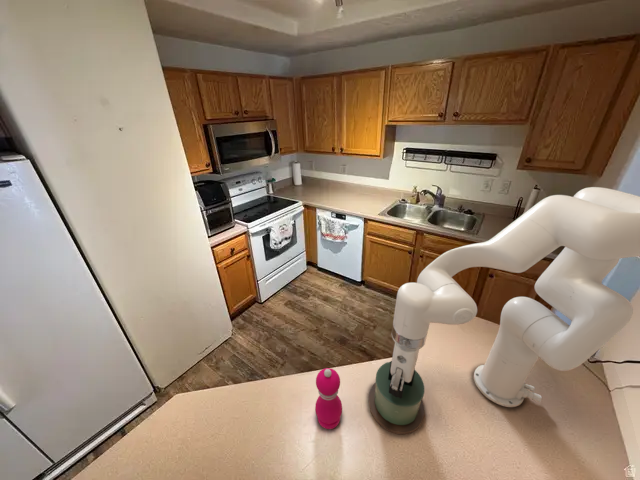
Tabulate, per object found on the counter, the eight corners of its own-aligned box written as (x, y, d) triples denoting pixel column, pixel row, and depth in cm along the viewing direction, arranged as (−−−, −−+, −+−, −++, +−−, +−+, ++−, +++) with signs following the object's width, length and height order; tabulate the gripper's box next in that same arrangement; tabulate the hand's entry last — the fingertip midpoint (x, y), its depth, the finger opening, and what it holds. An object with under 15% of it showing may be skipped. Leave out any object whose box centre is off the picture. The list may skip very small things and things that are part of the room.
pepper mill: (340, 434, 67) (340, 388, 58) (313, 428, 69) (309, 382, 59) (343, 405, 73) (344, 359, 64) (318, 401, 75) (316, 355, 65)
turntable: (428, 394, 75) (428, 391, 75) (417, 447, 64) (417, 444, 64) (378, 371, 82) (378, 368, 82) (360, 415, 71) (360, 413, 70)
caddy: (418, 433, 66) (428, 398, 58) (370, 416, 69) (373, 382, 62) (419, 387, 76) (428, 353, 69) (377, 375, 80) (380, 341, 72)
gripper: (418, 369, 51) (407, 417, 59) (432, 313, 64) (421, 358, 72) (381, 354, 54) (375, 401, 63) (402, 303, 68) (395, 348, 76)
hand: (400, 378), depth 67 cm, fingers open, 9 cm apart
